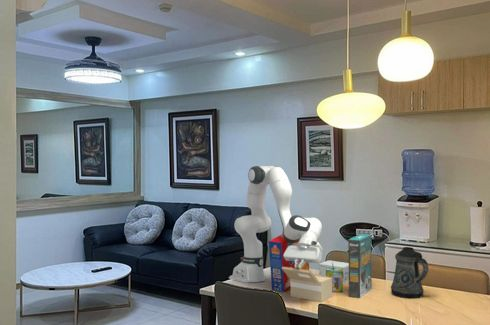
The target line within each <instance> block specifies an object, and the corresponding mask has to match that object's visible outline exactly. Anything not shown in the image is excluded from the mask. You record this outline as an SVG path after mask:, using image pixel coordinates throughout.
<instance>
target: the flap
mask: <svg viewBox="0 0 490 325" xmlns="http://www.w3.org/2000/svg"><path fill="white" fill-rule="evenodd" d="M282 270H283V271H284V272H285V273H286V274H287V275H288V276H289V277H290V279H295V280H301V281H308V282H314V283H318V280H317V278H316V277H315V276H314V275H315V274H314V275H313V272H312V271H311V270H310V269H309V270H302V269H296V268H289V267H282Z"/></svg>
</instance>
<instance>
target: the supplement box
mask: <svg viewBox="0 0 490 325" xmlns="http://www.w3.org/2000/svg"><path fill="white" fill-rule="evenodd" d="M332 263H333V266H334V268H342V279H343V283H347V282H349V262H343V261H337V260H336V261H335V260H331V259H330V260H325V261H323V262H319V263H318V265H319V270H318V271H319V272H318V273H319V274H318V275H321V276H326V268H333V266H332Z"/></svg>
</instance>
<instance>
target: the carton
mask: <svg viewBox="0 0 490 325" xmlns="http://www.w3.org/2000/svg"><path fill="white" fill-rule="evenodd" d="M313 275H314V276H315V277H316V278H317V280H318V283H314V282H308V281H301V280H295V279H291V282H290V286H291V288H290V297H293V298H298V299H302V300H308V301H313V302H319V303H323V302H324V301H326V300H328V299H330V298H332V297H333V292H332V278H331V277H327V276H321V275H319V274H313Z"/></svg>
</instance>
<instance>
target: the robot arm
mask: <svg viewBox="0 0 490 325" xmlns="http://www.w3.org/2000/svg"><path fill="white" fill-rule="evenodd" d="M247 177H248V180H249V181H248V187H247V191H246V192H247V194H246V206H247V207H248V208H249V210H250V211H251V215H242V216H240V217H238V218H236V219H235V221H234V223H233V224H234V230H235V231H236V233H237V234H238V235H240V237H241V238H242V239H241V240H242V242H243V250H244V251H243V253H244V255H242V257H240V260H241V262H240V263H238V265H236V266H235V267H234V268H233V271H232V275H230V276H228V279H230V280H234V281H237V282H240V283H244V284H245V283H260V282H265V281H266V278H265V277H266V276H265V273H264V256H263V243H262V241H261V240H259V239H258V237H257V234H258V233H264V232H266V231H269V230H270V229H271V226H272V220H271V219H272V218H271V217H270V216H269V215H268V213H267V211H266V195H267V186H268V185H269V187H270V189H271V190H270V191H272V192H271V193H272V196H273V198H274V200H275V205H276V208H277V211H278V215H279V216H278V217H279V219H280V221H281V225H282V234H283V238H284V239H285V240H286V241H287V242H289V243H297V242H298V241H299V242H298V245H293V244H292V245H290V246H288V248H287V249H286V251H285V253H284V255H283V256H284V258H285V260H287V261H295V268H297V269H301V267H302V266H303V265H304V264H305V263H306V262H307V263H309V264H318V265H319V264H320V263H321V261H322V258H323V252H324V249H323V247H322V245H321V244H320V243H319V242H318V240H319V238H320V236H321V234H322V231H323V229H322V228H323V224H322V222H321V221H320V219H318V218H316V217H303V216H301V215H292V213H291V200H292V196H293V189H292V188H293V187H292V184H291V181H290V179H289V177H288V175H287V173H285V171H284V169H283V168H282V167H280V166H278V165H254V166H251V167H250V168H249V170H248V173H247ZM299 262H301V263H300V264H298V263H299Z"/></svg>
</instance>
